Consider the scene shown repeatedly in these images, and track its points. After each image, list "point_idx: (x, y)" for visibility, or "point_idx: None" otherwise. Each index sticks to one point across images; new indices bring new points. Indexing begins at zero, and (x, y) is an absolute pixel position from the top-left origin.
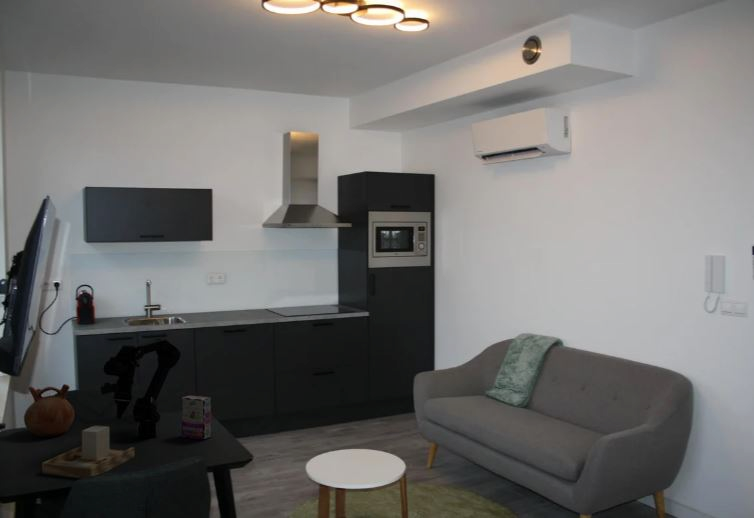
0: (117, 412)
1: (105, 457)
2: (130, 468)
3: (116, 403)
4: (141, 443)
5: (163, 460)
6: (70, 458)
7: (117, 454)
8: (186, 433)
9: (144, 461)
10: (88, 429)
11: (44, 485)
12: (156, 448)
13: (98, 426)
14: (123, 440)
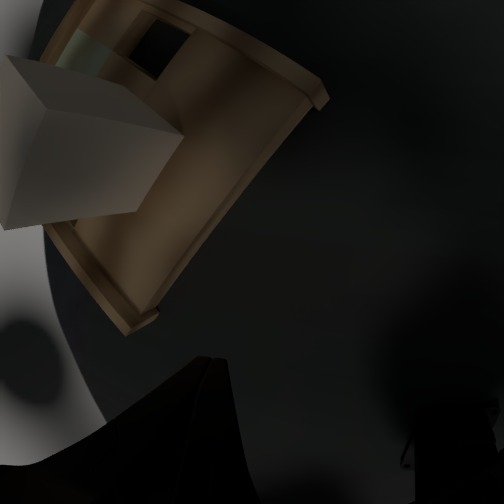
0: (140, 404)
1: None
2: (59, 274)
3: (4, 468)
4: (351, 400)
5: (102, 386)
6: (181, 29)
7: (64, 244)
8: None
9: (101, 334)
10: (5, 86)
11: (43, 39)
12: None
13: (20, 144)
14: (466, 325)
